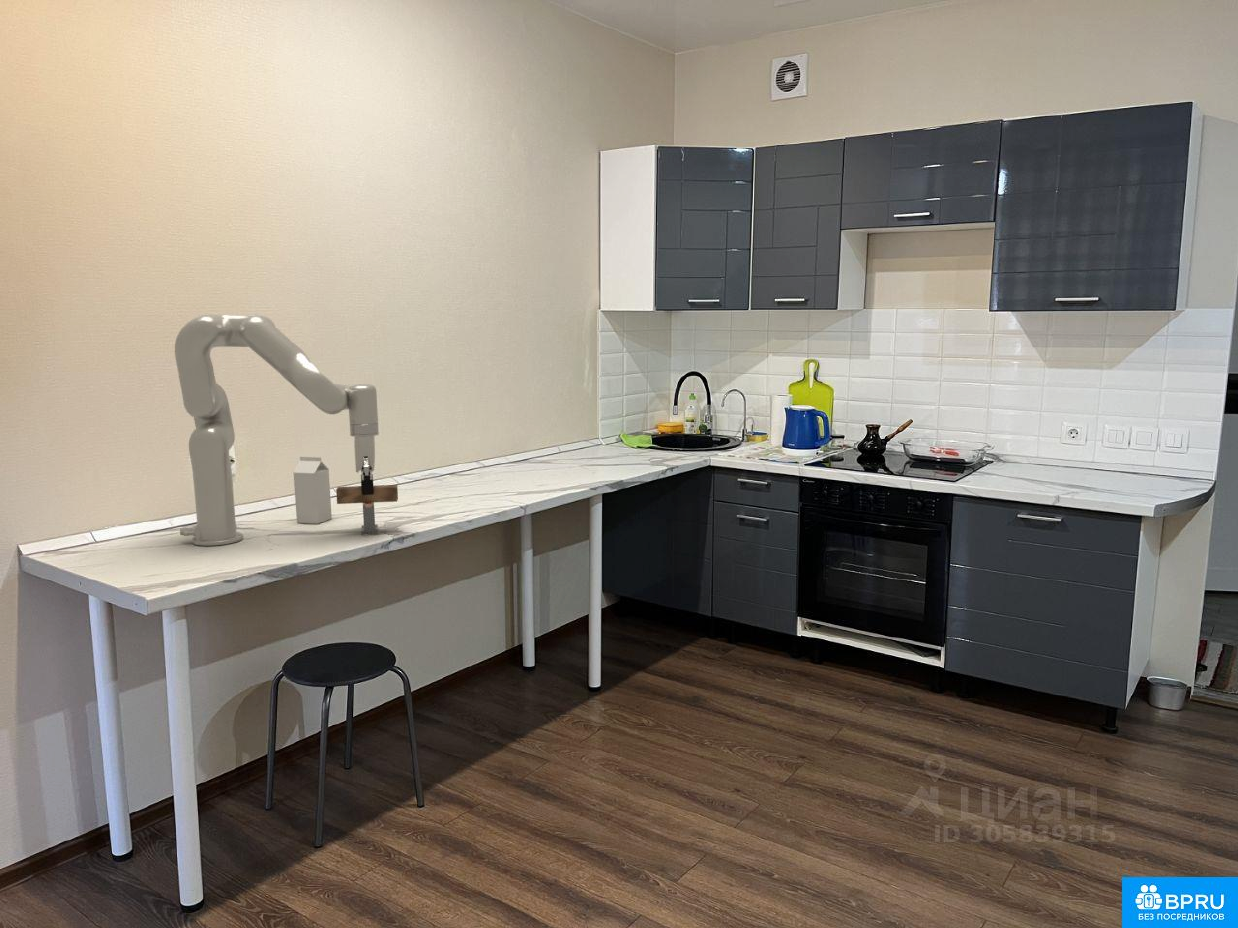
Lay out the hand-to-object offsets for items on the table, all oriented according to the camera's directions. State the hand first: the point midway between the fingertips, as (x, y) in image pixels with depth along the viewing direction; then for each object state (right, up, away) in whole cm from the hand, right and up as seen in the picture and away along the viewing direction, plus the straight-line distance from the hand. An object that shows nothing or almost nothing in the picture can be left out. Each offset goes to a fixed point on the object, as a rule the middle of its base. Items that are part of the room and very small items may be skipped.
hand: (367, 491), depth 261 cm
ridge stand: (0, -11, +2) cm, 11 cm away
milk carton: (-20, -9, +16) cm, 27 cm away
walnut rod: (0, -3, 0) cm, 3 cm away
